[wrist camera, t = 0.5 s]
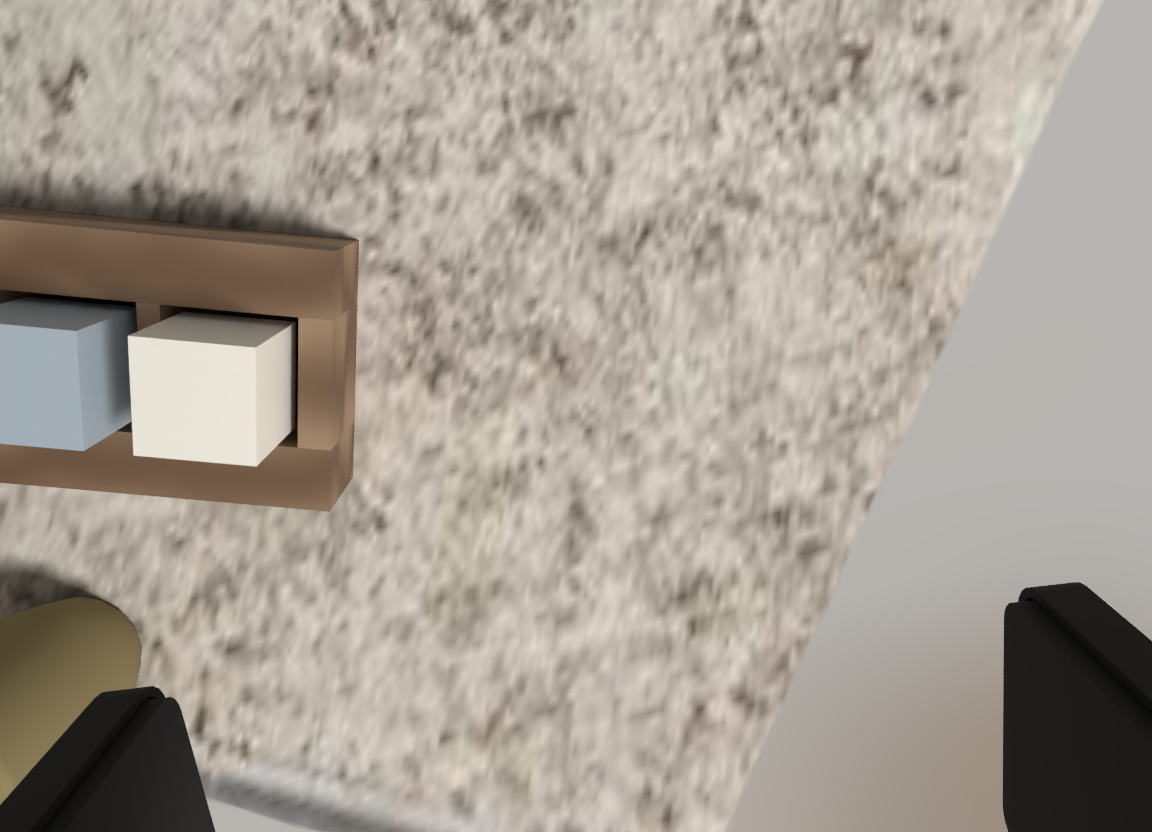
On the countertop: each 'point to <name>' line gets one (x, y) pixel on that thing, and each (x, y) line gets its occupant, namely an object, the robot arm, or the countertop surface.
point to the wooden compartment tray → (186, 284)
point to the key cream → (212, 388)
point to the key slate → (63, 372)
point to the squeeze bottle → (57, 674)
